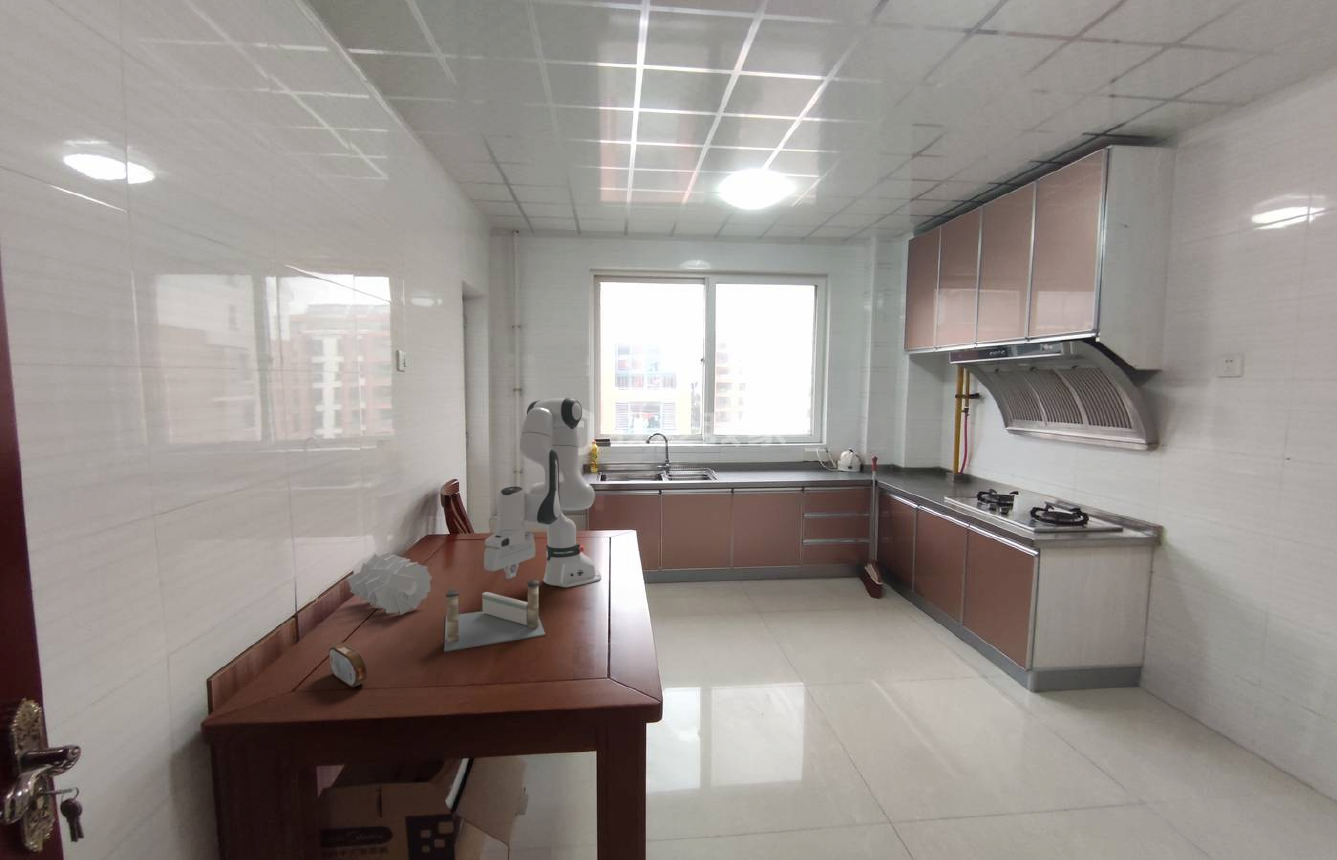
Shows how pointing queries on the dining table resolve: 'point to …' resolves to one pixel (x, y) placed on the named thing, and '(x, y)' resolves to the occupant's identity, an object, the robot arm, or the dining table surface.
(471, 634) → the mat
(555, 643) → the dining table surface
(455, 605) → the gate posts
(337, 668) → the tin
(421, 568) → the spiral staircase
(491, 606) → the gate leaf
